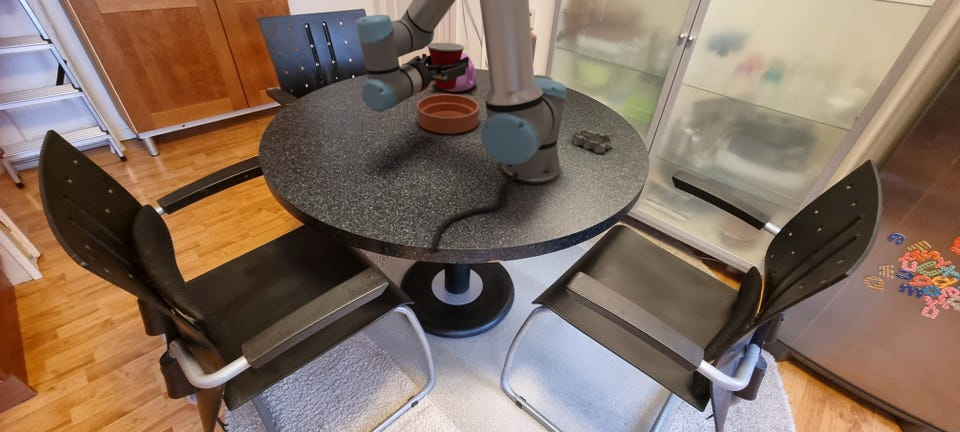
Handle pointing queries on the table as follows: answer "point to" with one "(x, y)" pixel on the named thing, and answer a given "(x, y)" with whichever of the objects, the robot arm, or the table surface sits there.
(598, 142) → the egg carton
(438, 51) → the plastic cup
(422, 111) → the bowl
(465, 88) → the teapot
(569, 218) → the table surface
